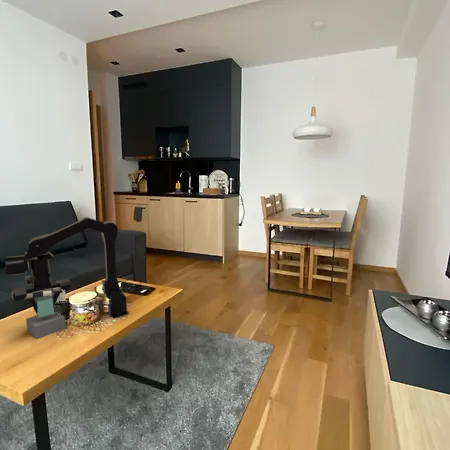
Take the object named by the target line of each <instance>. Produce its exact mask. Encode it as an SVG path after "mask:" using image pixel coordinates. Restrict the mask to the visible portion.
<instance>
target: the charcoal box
mask: <svg viewBox="0 0 450 450" xmlns="http://www.w3.org/2000/svg"><path fill="white" fill-rule="evenodd" d="M25 321H26V331H28V333H30V334H31V336H33V337H34V338H35V339H36V340H38V339H41V338H43V337H46V336H49V335H52V334H54V333H55V334H56V333H58V332H60V331H63V330H65V329H66V327H67V326H66V317H65V316H64V315H63V314H62V315H61V314H60V313H58V312H54V314H51V315H47V316H43V317H40V318H39V317H38V315H37V314H36V315H34V316H30V317H26V318H25Z"/></svg>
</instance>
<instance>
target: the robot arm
mask: <svg viewBox="0 0 450 450" xmlns="http://www.w3.org/2000/svg"><path fill="white" fill-rule="evenodd" d="M86 229H90V230H93V231H96V232H99V233H101V237H102V240H103V241H102V242H103V243H104V261H105V278H104V280H101V285H102V286H101V287H102V288H101V291H102V292H103V294H104V295H105V297H106V298H107V299H108V304H107V307H108V308H107V311H108V312H107V313H108V314H109V315H110V316H111V317H112V318H114V319H115V318H119V317H121V316H125V315H128V314H129V311H128V307H127V296H126V294H125V293H124V291H123V290H122V289H121V288H120V284H119V280H118V277H117V260H116V241H117V237H118V232H119V231H118V230H119V229H118V226H117V224H115V223H114V222H112V221H110V220H106V221H101V220H98V219H94V218H91V217H89V216H85V217H83V218H82V219H79V220H78V221H76V222H74V223H72V224H69V225H67V226H65V227H62V228H60V229H59V230H56V231H54V232H51V233H48V234H47V233H46V234H42V235H39V236H36V237H33V238H31V240H30V241H29V243H28V249H27V250H26V251H24V254H23V255H15V256H14V255H13V256H12V255H9V256H5V267H4V271H5V275H6V277H9V276H10V277H11V276H16V275H23V274H27V271H30V269H31V275H26V276H24V280H25V284H26V285H25V286H27V285H31V288H28V289H26V288H25V287H19V288H15V289H12V290H11V298H12V301H13V302H18V301H22V300H24V301H25V302H27V301H28V302H29V304H30V305H31V306H32V308H33V309H34V311H35V313H37V306H36V302H35V298H36V297H34V294H38V293H43V291H48V290H51V293H52V298H53V308H54V307H55V304H56V301H57V299H58V297H59V295H60V293H63V291H62V290H65V291H67V290H71V289H72V282H71V281H70V280H69V279H67V278H64V279H59V280H56V283H52V281H51V270H50V262H49V261H50V260H52V259H54V258H55V255H54V254H52V253H51V252H50V251H49V250H50V249H52V248H53V247H54V246H56V245H57V244H58V243H60V242H62V241H64V240H66V239H68V238H70V237H72V236H75V235H76V234H78V233H80V232H83V231H84V230H86ZM46 252H47V253H46ZM61 289H62V290H61Z"/></svg>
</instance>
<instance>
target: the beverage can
mask: <svg viewBox="0 0 450 450" xmlns="http://www.w3.org/2000/svg"><path fill="white" fill-rule="evenodd" d="M61 290H62V289H61ZM62 291H63V293H60V295H59V297H58V299H57V301H56V302H59V301H66V302H67V300H66V299H67V297H66V290H62ZM47 295H50V296H51V297H52V293H51V290H48V291H43V292H42V297H43V296H47Z"/></svg>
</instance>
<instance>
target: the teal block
mask: <svg viewBox="0 0 450 450" xmlns="http://www.w3.org/2000/svg"><path fill="white" fill-rule="evenodd" d="M34 298H35V302H36V306H37V313H36V312H35V313H36V315H38V317H39V318H40V317H43V316H47V315H51V314H54V308H53V298H52V297H51V296H50V295H47V296H43V295H42V296H38V297H34Z"/></svg>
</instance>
